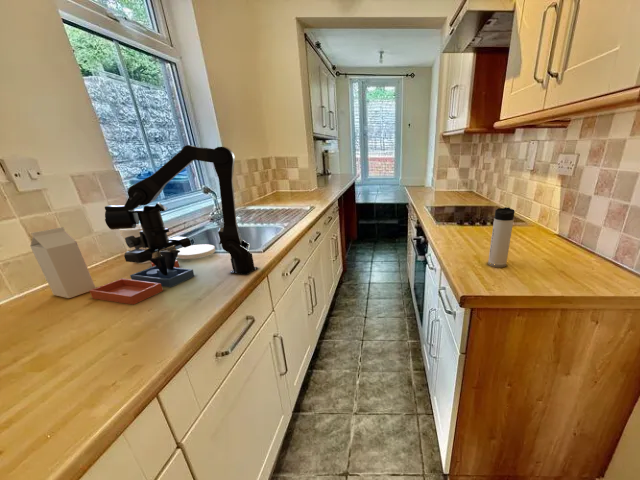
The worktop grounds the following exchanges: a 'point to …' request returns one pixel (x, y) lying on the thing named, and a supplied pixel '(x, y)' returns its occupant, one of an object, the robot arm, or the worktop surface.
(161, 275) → the blue spoon
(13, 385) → the worktop surface
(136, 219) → the robot arm
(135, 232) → the foam cup
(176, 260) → the terracotta spoon
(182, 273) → the blue tray
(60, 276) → the milk carton
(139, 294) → the terracotta tray
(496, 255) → the travel mug
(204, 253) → the plastic lid
